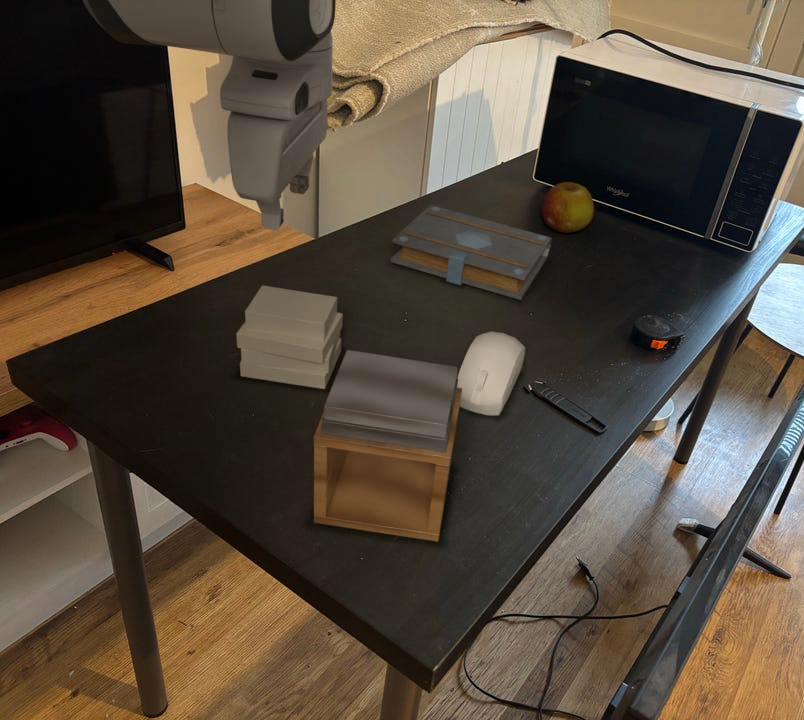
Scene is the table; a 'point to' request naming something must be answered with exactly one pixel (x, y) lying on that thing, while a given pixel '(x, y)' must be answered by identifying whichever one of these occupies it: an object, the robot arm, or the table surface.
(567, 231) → the fruit
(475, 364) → the computer mouse
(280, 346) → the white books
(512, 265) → the book
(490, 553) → the table surface
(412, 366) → the oak stand
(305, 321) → the beige flat block
